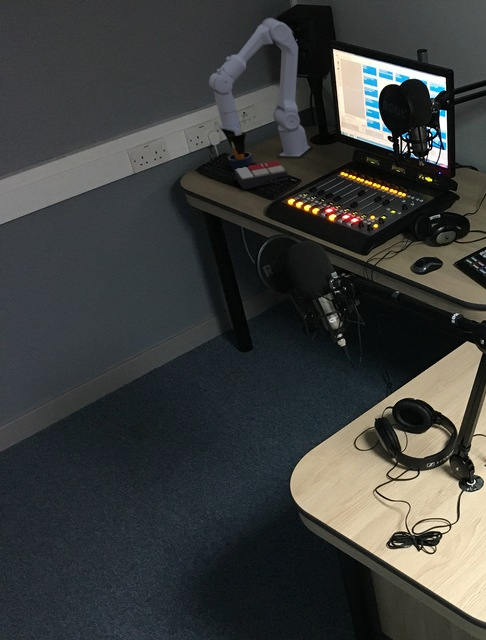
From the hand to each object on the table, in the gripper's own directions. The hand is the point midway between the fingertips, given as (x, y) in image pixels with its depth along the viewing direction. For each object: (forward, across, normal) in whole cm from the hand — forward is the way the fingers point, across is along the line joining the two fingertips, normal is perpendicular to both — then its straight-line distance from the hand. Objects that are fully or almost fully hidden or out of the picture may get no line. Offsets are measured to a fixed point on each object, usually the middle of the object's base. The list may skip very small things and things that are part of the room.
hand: (238, 150), depth 287 cm
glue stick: (+5, 0, 0) cm, 5 cm away
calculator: (+6, +17, +2) cm, 18 cm away
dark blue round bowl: (+6, 0, 0) cm, 6 cm away
